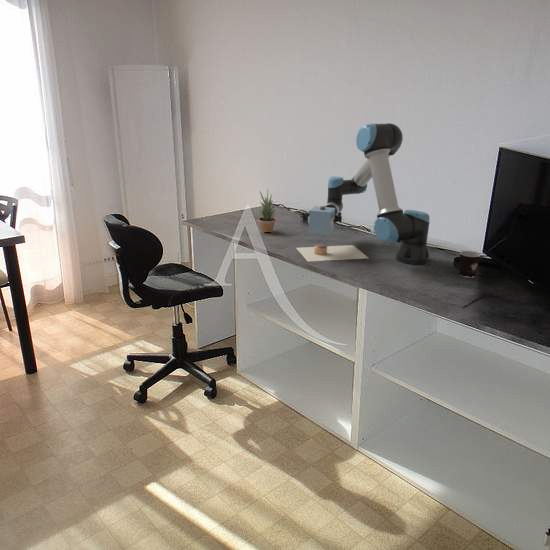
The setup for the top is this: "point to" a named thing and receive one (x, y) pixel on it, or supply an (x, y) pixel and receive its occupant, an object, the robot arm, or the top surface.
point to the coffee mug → (468, 263)
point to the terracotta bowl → (320, 250)
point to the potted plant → (267, 215)
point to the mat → (332, 253)
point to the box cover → (321, 220)
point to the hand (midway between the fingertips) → (319, 221)
